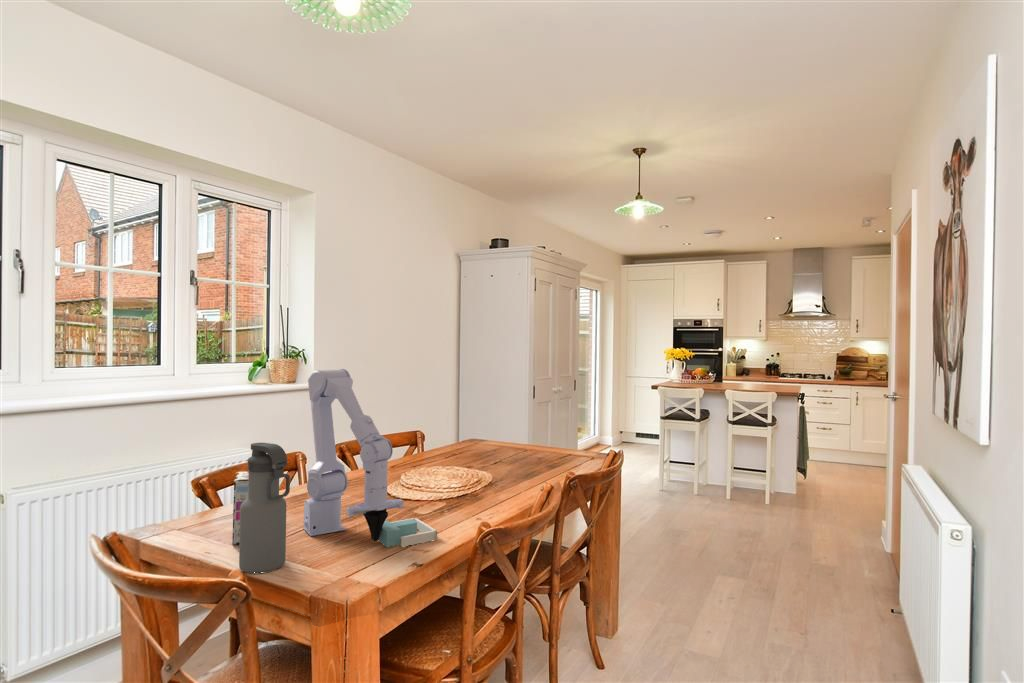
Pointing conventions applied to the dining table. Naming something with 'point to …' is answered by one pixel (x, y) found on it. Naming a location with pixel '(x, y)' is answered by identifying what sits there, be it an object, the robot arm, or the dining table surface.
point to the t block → (396, 531)
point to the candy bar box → (239, 502)
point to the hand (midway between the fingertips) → (375, 539)
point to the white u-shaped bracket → (419, 534)
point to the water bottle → (264, 511)
